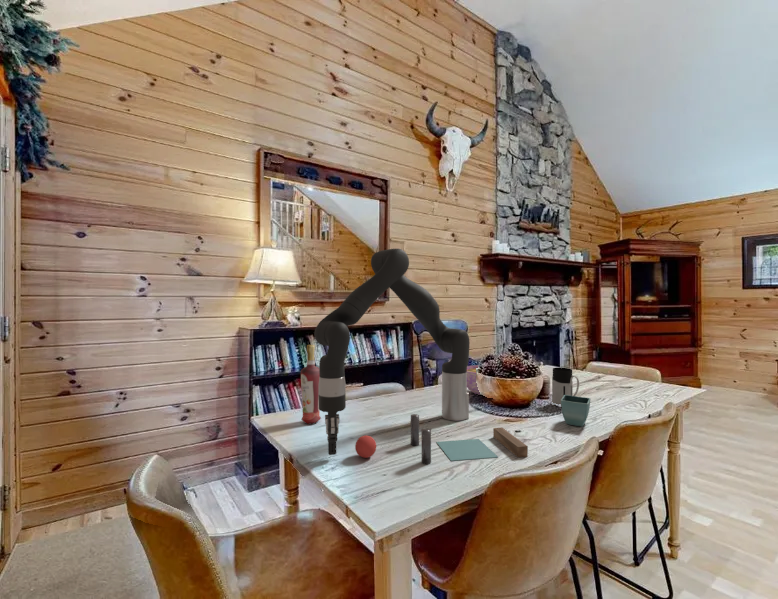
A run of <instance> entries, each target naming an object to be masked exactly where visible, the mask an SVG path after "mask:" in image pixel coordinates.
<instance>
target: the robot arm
mask: <svg viewBox="0 0 778 599" xmlns="http://www.w3.org/2000/svg"><path fill="white" fill-rule="evenodd" d="M370 262H371V263H370V266H371V269H372V271H373V273H374V275H372V276H371V277H370V278H369V279H368V280H366V281H365V282H363V283H362V284H360V285H359V286H357V288H355V289H354V290H352V291H351V293H349V295H348V296H347V297H346V298H345V299H344V300H343V301H342V303H341V304H339V306H338V307H337V308H335V309H334V310H333V311H331V312H330V313H329V314H327V315H326V316H324V318H322V319H321V320H320V321H319V323H318V324H317V325H316V327H315V329H314V339H315V341H316V343H318V344H319V345H321V346H326V347H327V352H326V354H325V355H322V356H320V359H319V366H318V368H319V376H320V377H319V410H320V412H323V413H327V414H325V415H324V418H325V419H324V421H325V422H324V423H325V433H326V435H327V438H326V440H327V450H328V451H327V452H328V455H329V456H335V455H337V442H338V434H339V433H340V432H339V429H340V428H339V427H340V426H339V425H340V421H341V420H340V414H339V413H338V412H342V411H344V410H345V409H346V407H347V406H346V404H347V402H346V401H347V400H346V396H347V395H346V394H347V393H346V389H347V388H346V387H347V385H346V377H345V376H346V374H345V373H346V372H345V371H346V370H345V368H346V367H345V363H346V362H345V361H346V357H347V354H348V351H349V350H348V349H349V346H350V341H351V334H350V330H349V328H348V327H349V326H353V325H355V324H357V323H358V322H359V321H360V320H361V319H362V317H363V316H364V315H365V314H366V312H367V311H368V310H369V309H370V307H371V306H372V305H373V304H375V302H376V301H377V299H379V297H381V296H382V295H383V294H384V293H385V291H387V290H388V289H390V290H391V291H392V292H393V293H394V294H395V295H396V297H397V298H399V300H400V301H401V302H402V303H403V304H404V305H405V306H406V308H407V309H408V310H409V312H410V313H411V314H412V315H413V316H414V317H415V318H416V319H417V321H419V323H420V324H421V325H422V326H423V328H424V329H425V330H426V331H427V332H428V334H429V335H430V337H431V338H432V340H433V341H434V342H435V344H436V346H437V347H438V348H439V350H440V351H442V352H444V353H447V354H451V359H450V360H449V361H446V362H444V363H442V366H441V417H442V418H443V419H445V420H447V421H456V422H458V421H465V420H468V419H469V418H470V415H469V414H470V412H469V411H470V409H469V408H470V407H469V406H470V398H469V397H470V396H469V395H470V394H469V392H468V390H467V389H468V388H467V366H469V360H470V337H469V334H468V332H467V331H466V330H464V329H459V328H450V327H448V326H446V324H445V323H444V322H443V321H442V320H441V317H440V316H441V314H440V306H439V304H438V302H437V300H436V299H435V298H434V297H433V295H432V294H431V293H430V292H429V291H428V290H427V289H426V288H424V287H423V286H422V285H420V284H418V283H416V282H415V281H413V280H411V279H410V278H408V277H406V275H405V274H406V272H407V271H408V269H409V266H410V259H409V255H408V254H407V252H406V251H405V250H403V249H402V248H389V249H384V250H378V251H376V252H375V253H373V255H372V256H371V259H370Z"/></svg>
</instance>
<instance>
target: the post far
mask: <svg viewBox="0 0 778 599" xmlns="http://www.w3.org/2000/svg"><path fill="white" fill-rule="evenodd" d="M419 445H420V415H419V414H418V413H416V414H415V413H413V414H410V446H413V447H418V446H419Z"/></svg>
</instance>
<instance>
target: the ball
mask: <svg viewBox="0 0 778 599" xmlns="http://www.w3.org/2000/svg"><path fill="white" fill-rule="evenodd" d="M354 446H355V448H354V449H355V452H356V453H357V455H358V456H359V457H361V458H362V459H363V458H364V459H368V458H371V457H372V456H373V455H374V454H375V453H376V450H377V442H376V440H375V439H374V438H373V437H372V436H371V435H361V436H360V437H359V438H358V439H357V440H356V442H355V445H354Z"/></svg>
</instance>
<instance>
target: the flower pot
mask: <svg viewBox="0 0 778 599" xmlns="http://www.w3.org/2000/svg"><path fill="white" fill-rule="evenodd" d="M561 407H562V408H561ZM561 407H560V408H561V414H562V418H563V420H564V422H565V423H566V424H567V425H571V426H575V427H584V425H585V424H586V421H587V418H588V416H589V412H590V408H591V398H590V397H583V396H577V395H576V396H570V395H564V396H563V398H562V399H561Z"/></svg>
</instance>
